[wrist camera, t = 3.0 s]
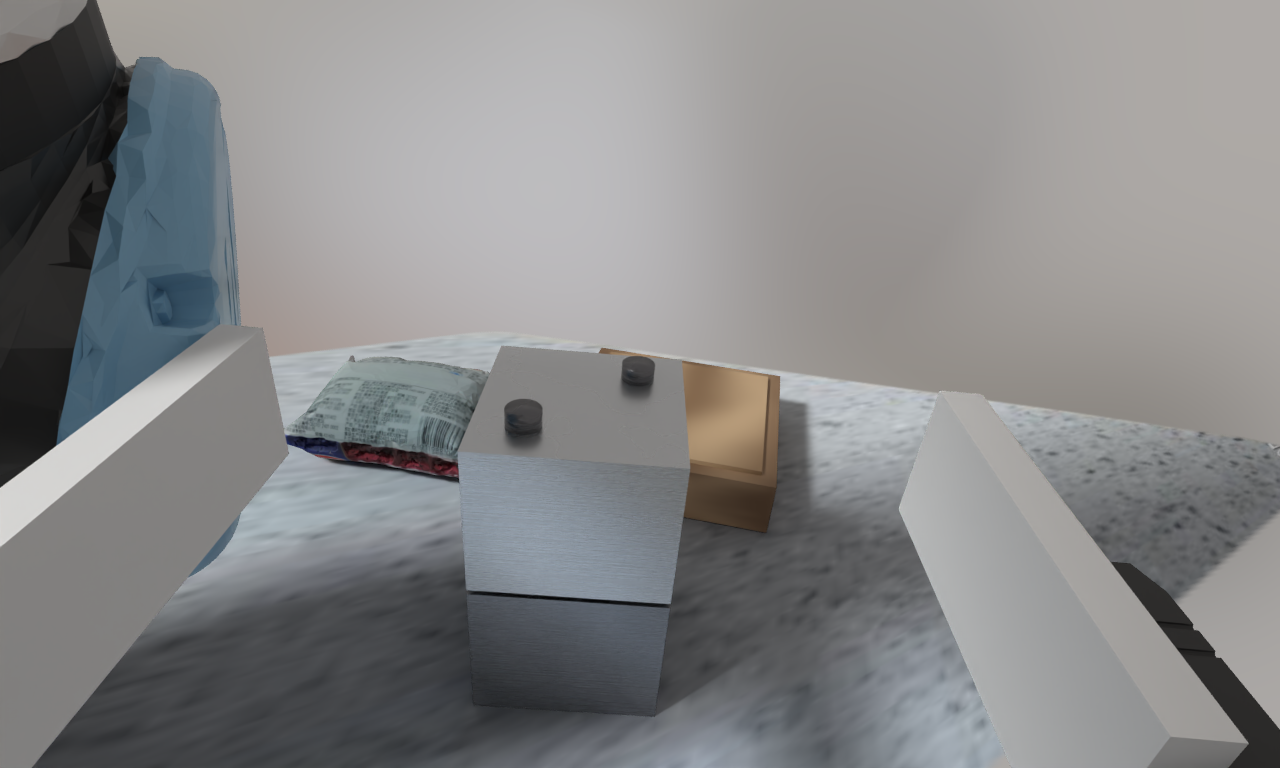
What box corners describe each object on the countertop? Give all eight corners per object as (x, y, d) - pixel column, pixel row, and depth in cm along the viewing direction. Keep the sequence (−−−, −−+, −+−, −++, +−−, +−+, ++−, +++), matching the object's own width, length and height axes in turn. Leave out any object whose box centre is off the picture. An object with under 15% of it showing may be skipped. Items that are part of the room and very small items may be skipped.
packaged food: (359, 392, 45) (349, 324, 43) (535, 419, 44) (535, 351, 42) (280, 473, 38) (262, 397, 36) (488, 508, 37) (485, 432, 34)
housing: (473, 705, 27) (456, 434, 20) (506, 571, 33) (501, 331, 27) (654, 717, 27) (692, 452, 21) (654, 582, 33) (683, 346, 27)
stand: (547, 491, 38) (547, 442, 36) (599, 386, 48) (601, 344, 47) (766, 532, 37) (777, 483, 35) (772, 414, 47) (780, 373, 45)
